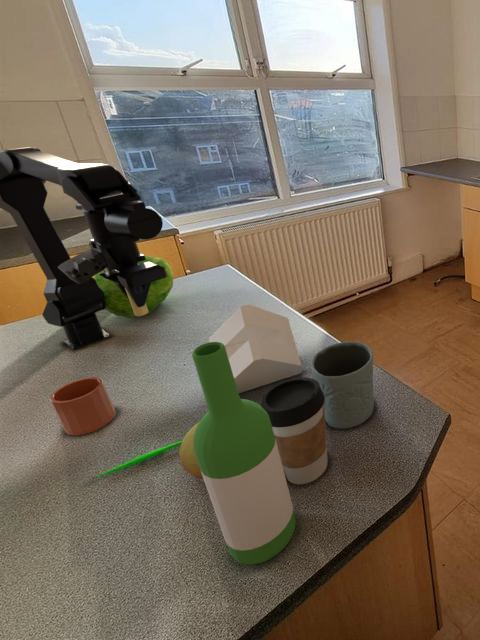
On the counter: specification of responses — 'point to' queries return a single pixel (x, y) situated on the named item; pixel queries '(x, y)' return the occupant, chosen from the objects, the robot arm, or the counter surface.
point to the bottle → (240, 464)
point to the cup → (83, 406)
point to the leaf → (142, 458)
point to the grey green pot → (345, 383)
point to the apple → (189, 454)
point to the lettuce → (120, 303)
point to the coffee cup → (298, 427)
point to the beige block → (258, 347)
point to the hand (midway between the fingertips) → (138, 304)
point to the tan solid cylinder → (137, 310)
